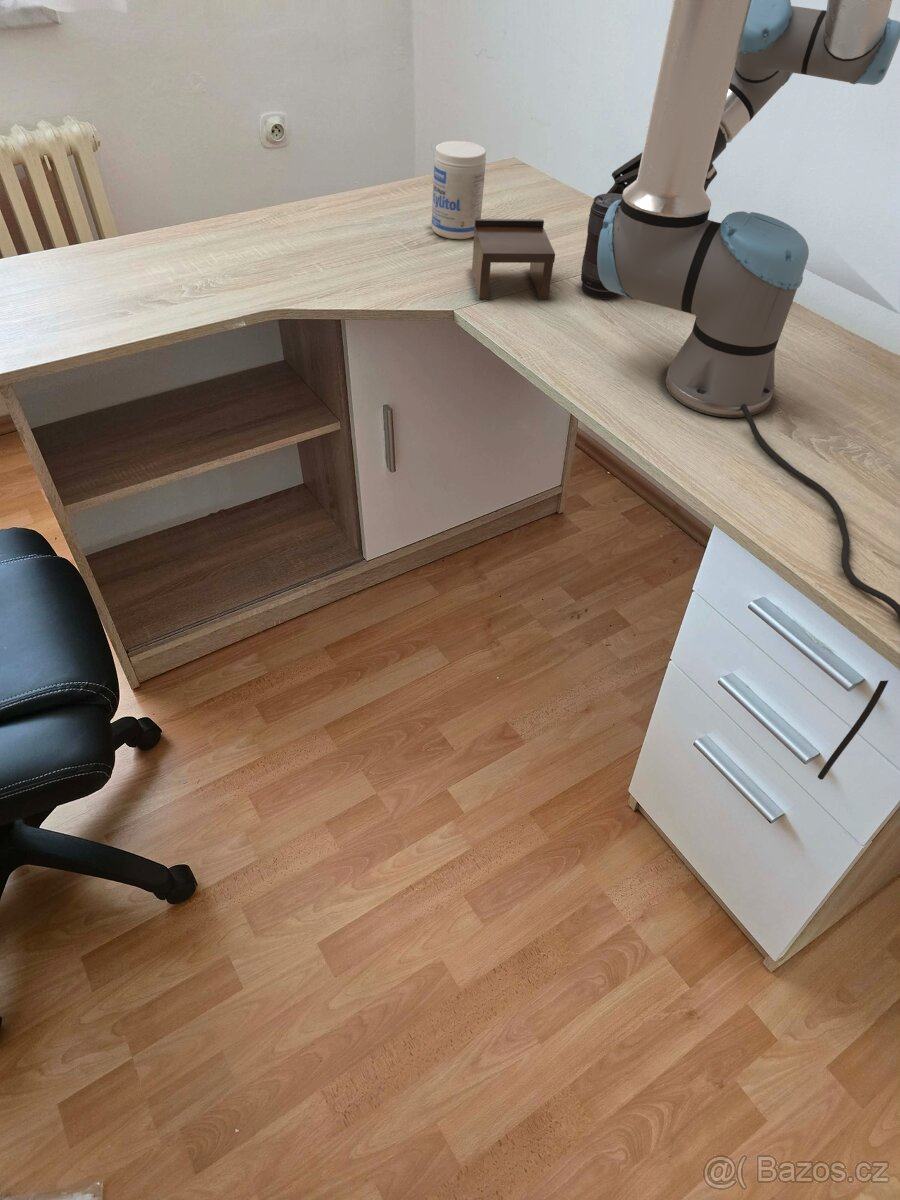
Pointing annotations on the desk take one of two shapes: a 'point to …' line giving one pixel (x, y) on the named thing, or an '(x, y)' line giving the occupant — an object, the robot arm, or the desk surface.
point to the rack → (512, 251)
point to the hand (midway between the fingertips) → (615, 236)
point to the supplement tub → (457, 188)
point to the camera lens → (596, 248)
